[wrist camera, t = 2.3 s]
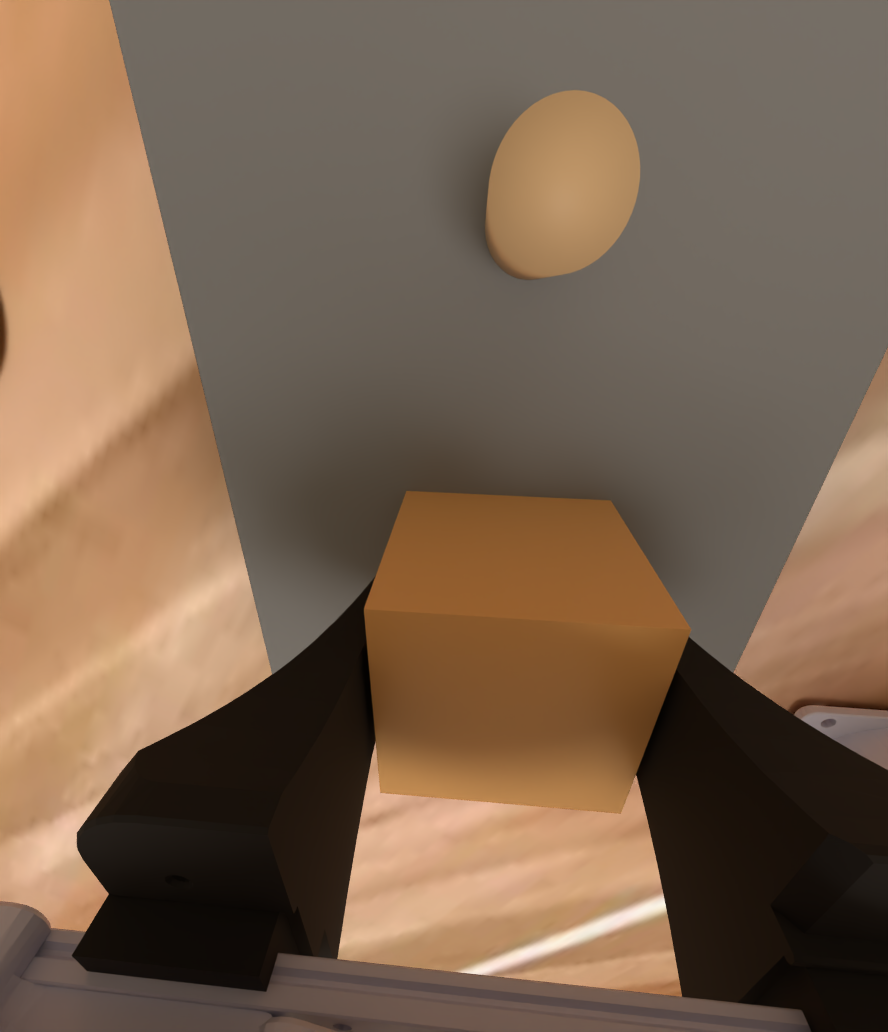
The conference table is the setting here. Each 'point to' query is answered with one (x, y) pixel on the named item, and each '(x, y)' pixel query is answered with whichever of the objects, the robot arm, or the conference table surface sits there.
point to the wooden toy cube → (517, 651)
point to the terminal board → (498, 367)
